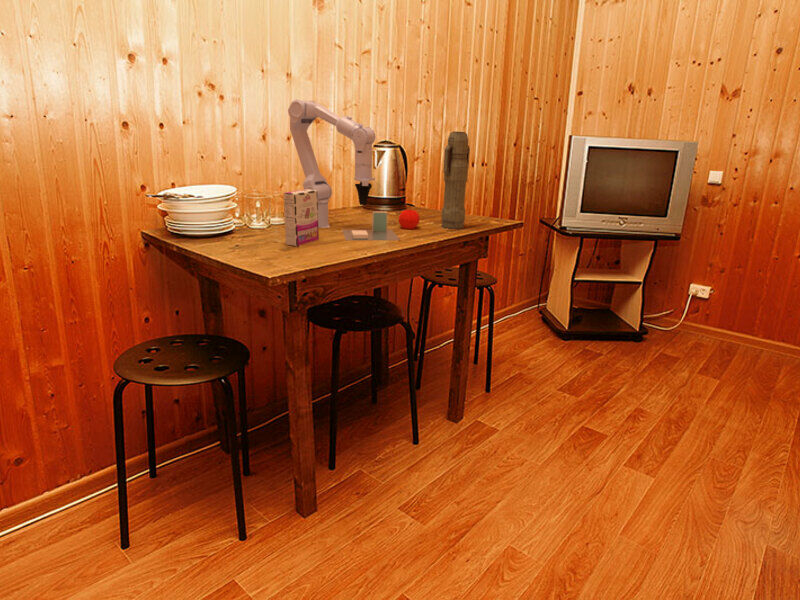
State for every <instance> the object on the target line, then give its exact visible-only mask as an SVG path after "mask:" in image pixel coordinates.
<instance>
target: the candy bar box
mask: <svg viewBox="0 0 800 600" xmlns="http://www.w3.org/2000/svg"><path fill="white" fill-rule="evenodd" d="M283 211H284V230H285V245H286V246H291V247H296V248H297V247H300V245H303V244H307V243H310V242H315V241H318V240H319V237H320V236H319V235H320V234H319V227H318V200H317V190H309V189H305V190H304V189H300V190H293V191H288V192H283Z"/></svg>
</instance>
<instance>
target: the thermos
mask: <svg viewBox="0 0 800 600" xmlns="http://www.w3.org/2000/svg"><path fill="white" fill-rule="evenodd" d="M468 137H469V136H468V133H467V132H465V131H452V132H450V133H449V135H448V139H447V145H446V146H445V148H444V156H443V157H444V158H443V181H444V194H443V205H442V208H441V216H440V217H441V218H440V219H441V225H440V226H441V228H443V229H447V228H448V229H449V230H461V228H462V229H464V228H465V226H464V225H465V220H466V219H465V218H466V208H465V200H466V186H467V185H466V184H467V181H468V176H469V163H470V154H471V153H470V152H471V151H470V150H471V149H470V146H469V138H468Z"/></svg>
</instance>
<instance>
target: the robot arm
mask: <svg viewBox="0 0 800 600" xmlns="http://www.w3.org/2000/svg"><path fill="white" fill-rule="evenodd" d="M287 112H288V115H289V130H290V135H291V136H292V139H293V143H294V146H295V149H296V152H297V155H298V158H299V162H300V164H301V168H302V171H303V174H304V177H305V178H304V181H303V182H302V187H303V190H305V189H309V190H317V200H318V228H330V223H329V202H330V201H329V200H330V199H331V197H332V194H333V189H332V187H331V185H330V184H329V183H328V181H327V178H325V176H323V174H322V173H321V171H320V168H319V164H318V161H317V159H316V158H317V157H316V156H315V152H314V150H313V145H312V143H311V140H310V137H309V134H308V129H309V127H310V126H311V125H312V124H313V123H314V122H315V120H316V119H317V118H319V119H321V120H323V121H325V122H327V123H328V124H331V125H333V126H335V128H336V131H337V132H338V133H339V134H342V135H343V136H345V137H346V138H348V139H350V140H351V141H352V142H353V144H354V177H353V179H354V181H357V182H359V183H354V186H355V188H356V191H357V196H358V202H359V205H360V206H366V205H367V204H368V199H369V198H368V197H369V195H370V191H371V189H372V187H373V185H372V183H370V182H372V181H375V180H376V178H375V177H372V175H373V174H372V173H373V172H372V171H373V170H372V169H373V168H372V167H373V144H374V143H375V140H376V133H375V131H374V130H373V129H372V128H371V127H369V126H367V127H364V124H363V123H358V122H356V121H355V120H353V117H351V116H350V115H349V116H348V115H347V116H346V115H345V116H344V115H343V116H341V117H340V116H339V115H337V114H336V113H335V112H333V111H331V110H330V109H328V108H327V107H325V106H324V105H322V104H321V103H318V102H316V101H314V100H301V99H294V100H293V101H291V102H290V105H289V107H288V109H287Z"/></svg>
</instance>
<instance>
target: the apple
mask: <svg viewBox="0 0 800 600" xmlns="http://www.w3.org/2000/svg"><path fill="white" fill-rule="evenodd" d="M420 220H421V218H420V215H419V213H418V212H417V210H413V209H405V210H403V211H401V212H400V214H399V216H398V223H399V224H398V225H400V226H401V228H402V229H405V230H413V229H415V228H417V226H418V225H419V223H420Z"/></svg>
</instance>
